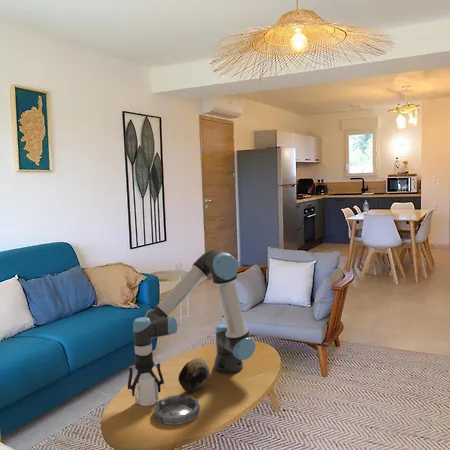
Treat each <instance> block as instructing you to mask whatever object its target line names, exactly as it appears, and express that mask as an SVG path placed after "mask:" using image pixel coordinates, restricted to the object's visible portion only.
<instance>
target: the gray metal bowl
mask: <svg viewBox="0 0 450 450" xmlns="http://www.w3.org/2000/svg"><path fill="white" fill-rule="evenodd" d="M200 408H201V407H200V403H199V400H198V399H197V398H195V397H193V396H192V395H186V394H175V395H170V396H167V397H164V398H161V399H160V400H157V402H156V403H155V404H154V406H153V411H154V412H153V413H154V418H155V420H156V421H158V422H159V423H161V424H164V425H169V426H177V425H178V426H179V425H184V424H187V423H189V422H191V421H193V420H195V419H196V418H197V417H198V416H199V414H200V412H201V411H200V410H201V409H200Z"/></svg>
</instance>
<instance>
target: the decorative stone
mask: <svg viewBox="0 0 450 450" xmlns="http://www.w3.org/2000/svg"><path fill="white" fill-rule="evenodd" d="M210 374H211V373H210V366H209V363H208V362H207V361H206V359H204V358H202V357H195V358H193V359H191V360H189V361H188V362H186V364H184V365H183V367H182V368H181V370H180V372H179V374H178V377H177V378H178V383H179V385H180V386H181V387H182V389H183V391H185V392H186V393H194V392H196V391H198V390H200V389H201V388H202V387H203V385H204V383H205V382H206V381H207V380H208V379H209V378H210Z"/></svg>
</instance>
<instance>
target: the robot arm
mask: <svg viewBox="0 0 450 450" xmlns="http://www.w3.org/2000/svg"><path fill="white" fill-rule="evenodd" d="M238 271H239V263H238V260H237V258H235V256H233V254H230V253H228V252H224V251H220V250H218V249H210V250H208V251H206V252H203V254H202V255H200V257H198V258H197V260H195V262H193V264H192V265H191V269H190V270H189V271H188V272H187V273H186V274H185V275H184V276H183V277H182V278H181V280H179V282H178V283H177V284H175V286H173V288H172V289H171V290H170V292H168V294H166V296H165V297H164V298H163V299H162V300H161V301H160V302H159V303H158V304H157V305H156V306H155V308H154V309H152V308H151V309H149V310H148V311H146V312H145V315H144V316H143V317H142V316H141V317H138V318H135V319H134V320H133V323H132V326H133V328H132V331H133V338H134V339H133V341H134V356H135V357H134V358H135V364H134V365H129V366H128V370H129V375H128V380H127V390H131V395H132V397H134V401H135V402H134V403H135V404H136V405H138V400H137V399H136V398H135V395H134V391H135V388H136V386H137V384H138V383H137V382H138V380H139V377H140V376H141V374H144V373H150V374H151V376H152V377H154V380H155V382H156V396H157V401H159V399H160V398H159V393H161V389H162V388H161V385H164V384H165V381H164V377H163V375H162V371H161V362H160V361H157V362H154V359H153V344H152V342H153V341H152V340H153V339H155V338H160V337H165V336H170V335H174V334H176V333H177V332H178V323H177V320H176V318H175V317H174V316H171V317H169V316H170V315H172V313H173V312H174V311H175V310H176V308H177V307H178V306H179V305H180V304H181V303H182V302H183V301H184V300H185V299H186V298H187V297H188V296H189V295H190V293H191V292H192V291H193V290H194V289H195V288H196V287H197V286H198V285H199V284H200V283H201V282H202V280H203V279H208V277H209V276H210V275H211V278H212V283H213V284H215V285H216V286H217V290H218V295H219V299H220V303H221V308H222V311H223V312H222V313H223V316H224V320H225V323H221V324H217V326H216V327H215V341H216V342H215V344H216V347H215V348H216V355H215V359H214V362H213V369H214V370H215V372H218V373H221V374H222V373H223V374H232V373H233V374H234V373H238V372H240V371H241V370H242V369H243V367H244V362H243V361H247V360H249V359H250V358H251V357H252V356H253V355H254V353H255V352H256V345H257V344H256V342H255V341H254V338H252V337H251V335H250V331H249V328H248V327H247V326H246V325H245V323H244V318H243V312H242V309H241V305H240V300H239V299H240V298H239V295H238V294H239V293H238V289H237V286H236V280H237V279H238V275H237V274H238ZM154 367H155V369H157V374H158V376H159V378H158V376H157V375H156V374H155V372H154V371H153V368H154ZM135 369H136V370H137V372H136V375H135V377H134V379H133V375H134V374H133V372H135ZM159 379H160V380H159ZM132 381H133V382H132ZM137 394H138V391H136V397H137V398H138V395H137Z"/></svg>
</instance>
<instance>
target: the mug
mask: <svg viewBox="0 0 450 450" xmlns="http://www.w3.org/2000/svg"><path fill="white" fill-rule="evenodd" d="M136 392H137V394H138V395H137V397H136ZM134 395H135V396H134V399H135V398H136V399H137V404H138V405H140V406H142V407H149V406H152V405H156V404H157V402H158V400H157V396H156V382H155V380H154V377H152V376H151V374H150V373H144V374H141V376H140V377H139V380H138V382H137V384H136V388H135V391H134Z"/></svg>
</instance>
